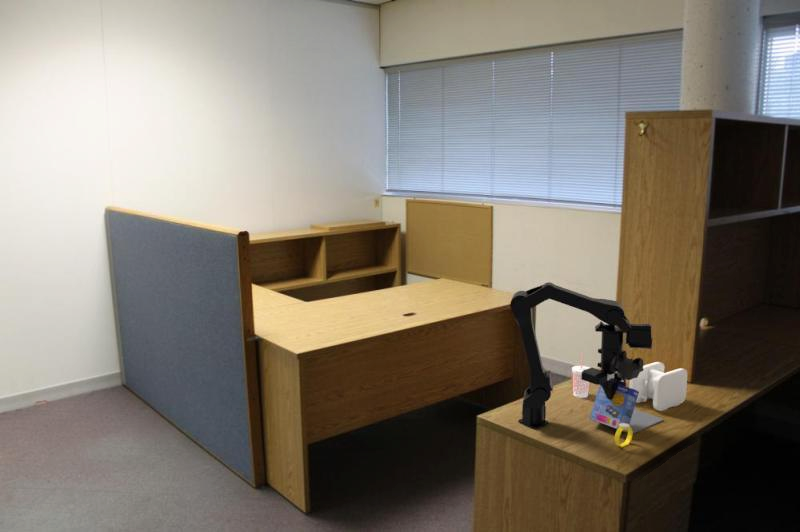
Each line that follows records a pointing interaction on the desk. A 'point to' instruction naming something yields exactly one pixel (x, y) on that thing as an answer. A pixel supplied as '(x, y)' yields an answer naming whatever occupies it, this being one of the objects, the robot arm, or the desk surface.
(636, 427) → the mat
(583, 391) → the beverage cup
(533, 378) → the robot arm
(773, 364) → the desk surface
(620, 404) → the ink cartridge box
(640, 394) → the cable organizer
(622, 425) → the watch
